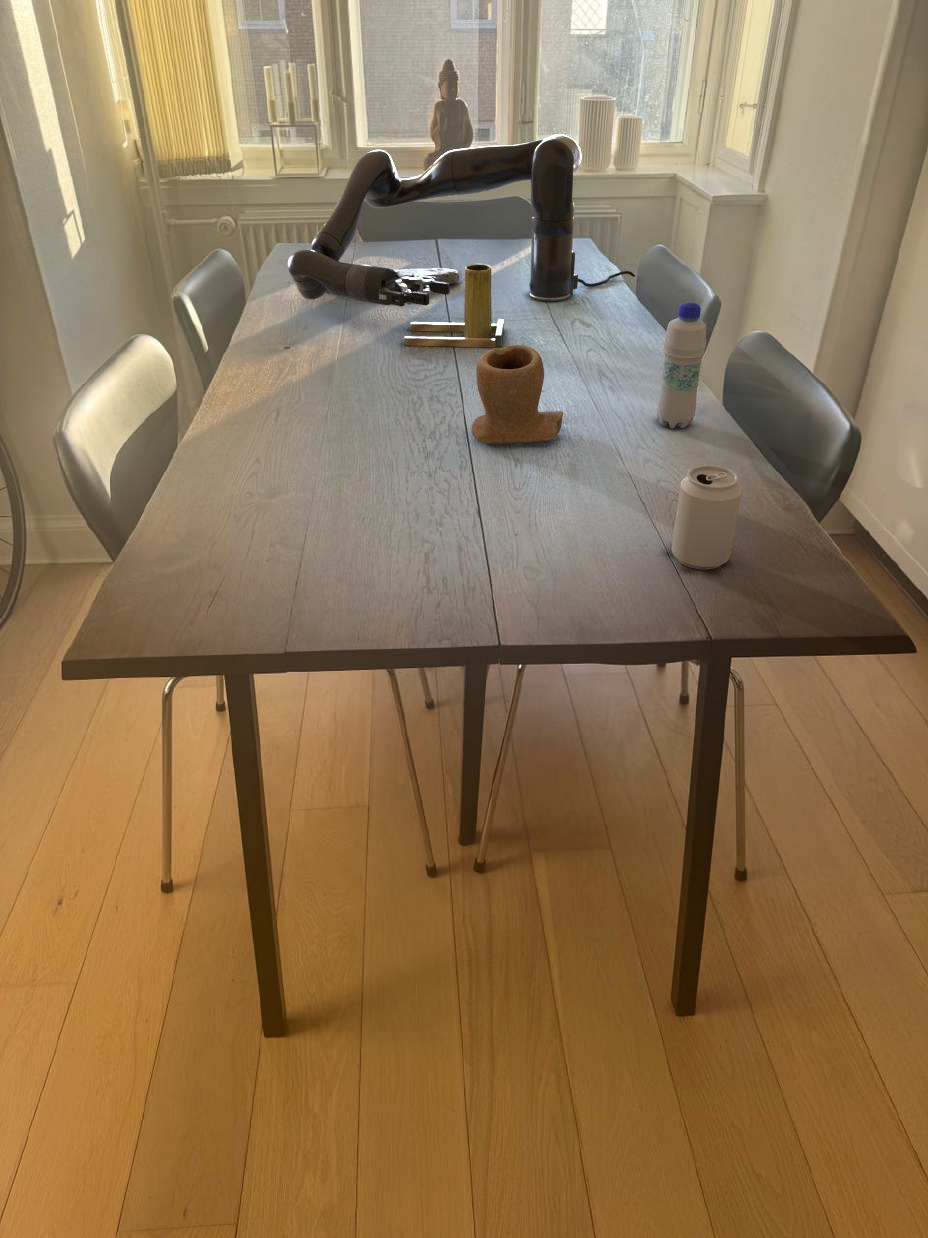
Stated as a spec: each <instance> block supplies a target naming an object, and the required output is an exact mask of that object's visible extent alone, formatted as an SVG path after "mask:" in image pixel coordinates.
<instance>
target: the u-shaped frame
mask: <svg viewBox="0 0 928 1238" xmlns="http://www.w3.org/2000/svg"><path fill="white" fill-rule="evenodd" d="M409 327H410V331H411V332H445V333H446V332H449V333H452V332H453V333H464V322H434V321H433V322H432V321H431V322H429V321H428V322H427V321H410V324H409ZM504 332H505V319H501V318H498V320H497V323H492V334H495V338H494V337H493V338H463V337H460V336H459V337H458V336H457V337H456V336H453V337H452V336H417V335H416V336H413V335H411V336H410V335H406V336H404V338H403V339H404V346H415V347H416V346H418V347H421V346H423V347H454V348H455V347H457V348H458V347H459V348H460V347H462V348H492V349H495V348H502V344H503V339H504Z"/></svg>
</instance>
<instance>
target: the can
mask: <svg viewBox="0 0 928 1238" xmlns="http://www.w3.org/2000/svg"><path fill="white" fill-rule="evenodd" d="M739 480H740V478H739V475H738V474H737V473H736V472H735V471H734V470H732V469H730V468H728V467H724V466H721V465H717V464H716V465H715V464H701V465H696V466H693V467H691V468H690V469H688V471H687V473H686V477H684V478H683V479H682V480H681V482H680V484H679V492H678V499H677V507H676V513H675V521H674V527H673V534H672V540H671V547H670V548H671V553H672V554H673V556H674V557H675V558H676V559H677V560H678V561H679V562H680V563H681V564H682V565H684V566H686V567H689V568H691V569H696V570H707V571H708V570H713V569H717V568H719V567H720V566H721V565H724V564H725V563H727V562H728V561H729V560H730V558H731V554H732V550H733V549H732V548H733V542H734V539H735V532H736V528H737V527H736V526H737V521H738V516H739V510H740V504H741V498H742V492H743V488H742V486H741V484H740V483H739Z"/></svg>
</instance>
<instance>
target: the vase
mask: <svg viewBox="0 0 928 1238" xmlns="http://www.w3.org/2000/svg"><path fill="white" fill-rule="evenodd" d="M463 312H464V313H463V315H464V316H463V317H464V318H463V319H464V322H463V323H464V332H463V336H462V338H494V337H493V333H492V324H493V323H492V313H493V312H492V266H491V265H489V264H485V263H474V264H473V263H472V264H468V265H465V267H464V310H463Z"/></svg>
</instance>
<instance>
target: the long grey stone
mask: <svg viewBox="0 0 928 1238" xmlns="http://www.w3.org/2000/svg"><path fill="white" fill-rule="evenodd" d="M394 270H395V271H396V272H397V274H398V276H399V278H400V279H401V277H409V278H410V275H411V274H415V275H423V276H432V277H436V281H437V282H444V283H449V285H453V284H457V283H459V282H460V279H461V273H460V270H458V269H450V268H443V267H432V268H431V267H430V268H406V269H405V268H403V269H394ZM426 284H427V285H429V283H426Z"/></svg>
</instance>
